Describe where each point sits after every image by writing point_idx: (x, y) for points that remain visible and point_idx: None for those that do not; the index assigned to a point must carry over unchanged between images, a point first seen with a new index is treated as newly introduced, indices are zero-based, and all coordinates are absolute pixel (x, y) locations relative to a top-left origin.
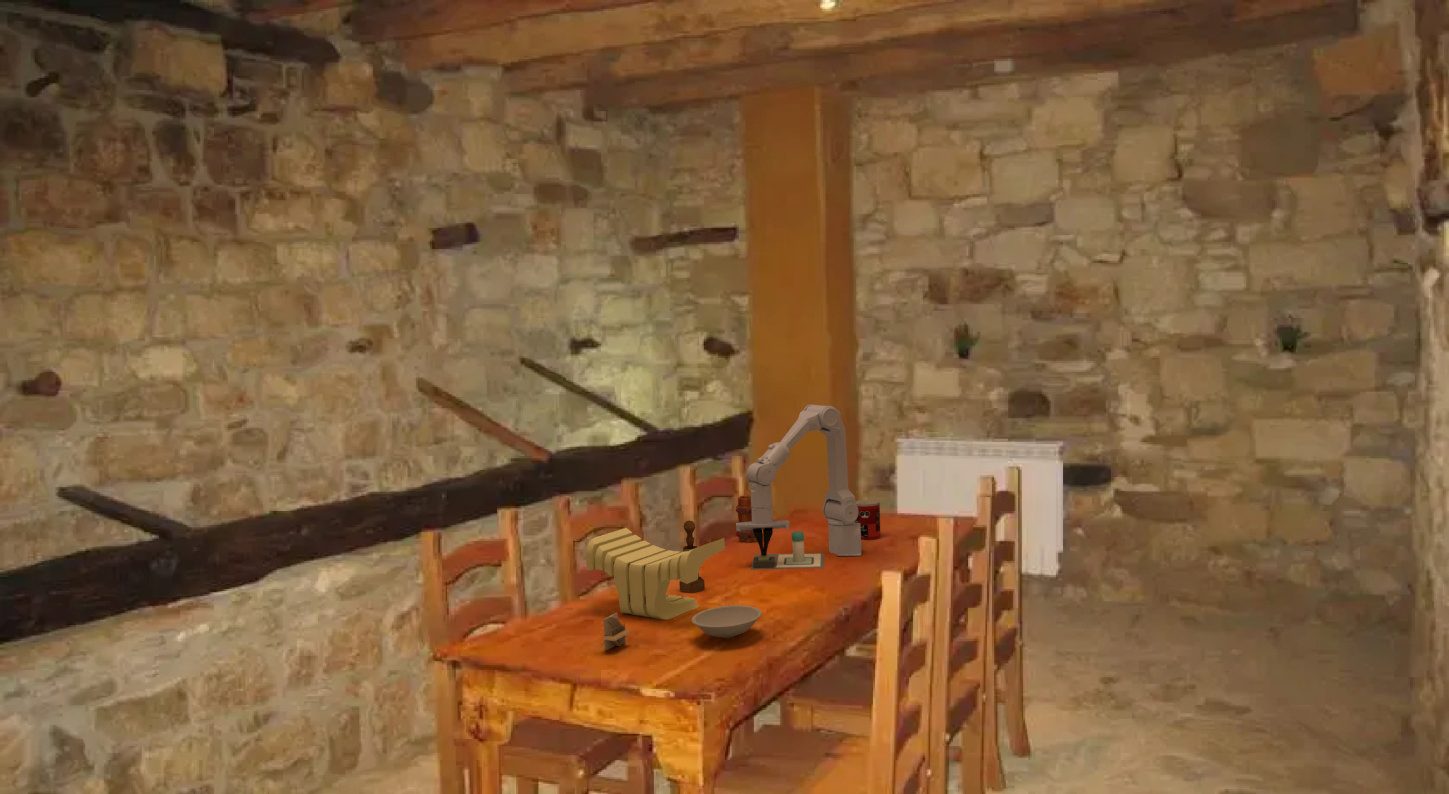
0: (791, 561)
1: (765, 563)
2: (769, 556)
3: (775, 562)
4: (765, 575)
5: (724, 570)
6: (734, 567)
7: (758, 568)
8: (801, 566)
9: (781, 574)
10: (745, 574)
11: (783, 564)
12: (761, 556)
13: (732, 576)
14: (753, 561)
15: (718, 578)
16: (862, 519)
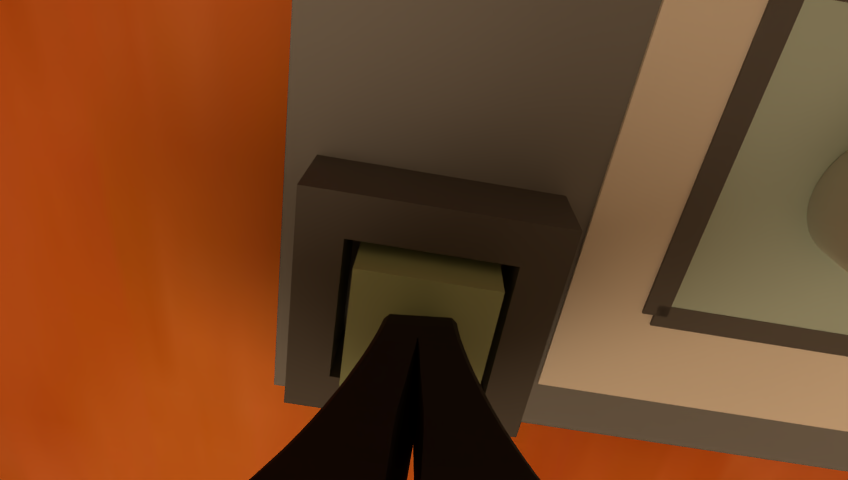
0: (785, 202)
1: None
2: (503, 290)
3: (582, 172)
4: (410, 472)
5: (4, 236)
6: (86, 132)
7: None
8: (792, 415)
9: (547, 475)
10: (239, 411)
11: (642, 304)
12: (390, 307)
13: (132, 440)
14: (289, 391)
15: (27, 465)
16: None
